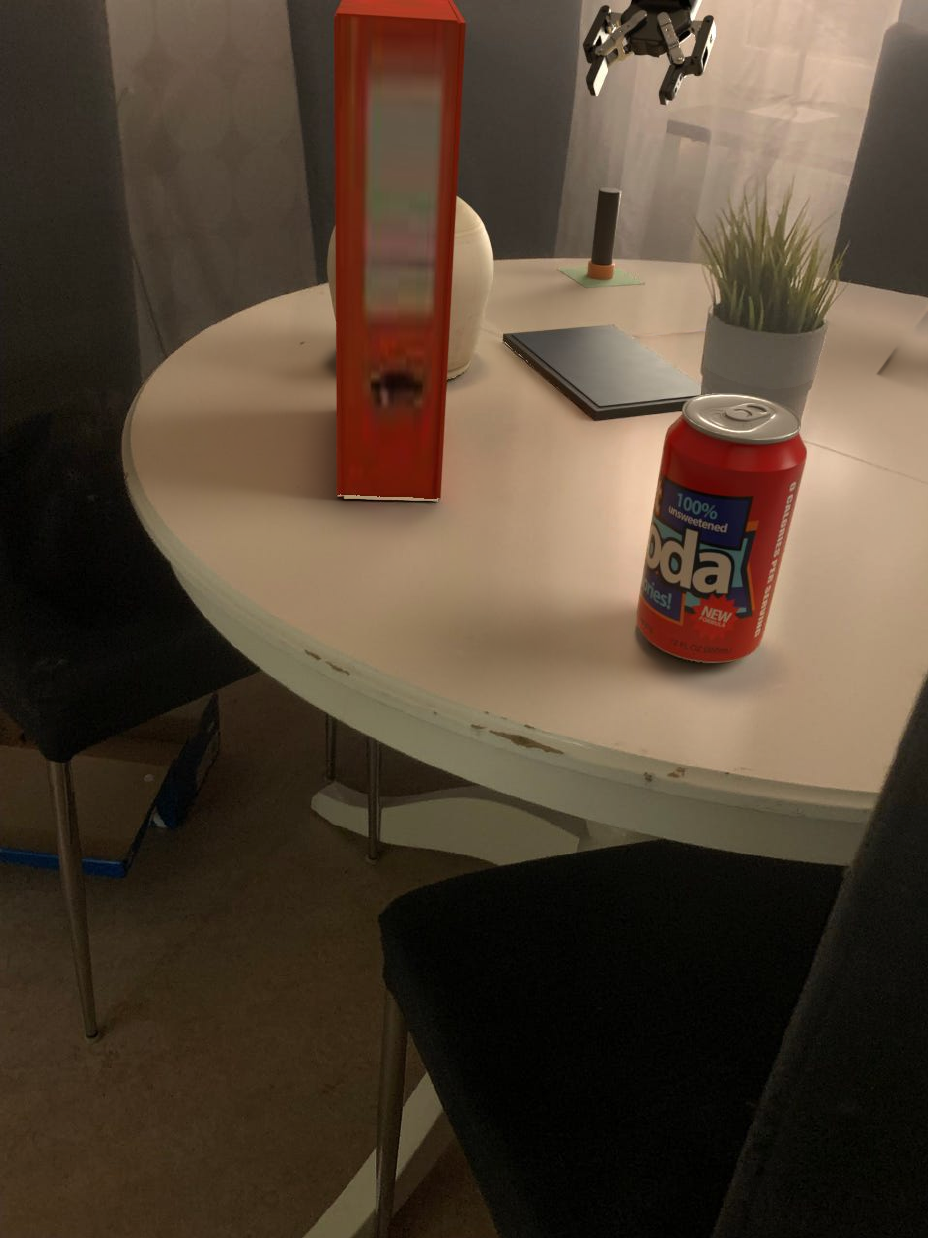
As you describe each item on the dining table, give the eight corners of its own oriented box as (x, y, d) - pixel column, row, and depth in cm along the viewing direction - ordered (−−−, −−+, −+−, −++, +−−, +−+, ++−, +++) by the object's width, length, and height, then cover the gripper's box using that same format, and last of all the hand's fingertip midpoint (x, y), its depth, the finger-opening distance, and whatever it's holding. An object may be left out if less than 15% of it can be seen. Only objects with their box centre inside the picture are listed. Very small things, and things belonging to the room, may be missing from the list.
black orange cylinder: (605, 271, 133) (615, 186, 128) (617, 278, 131) (628, 192, 125) (582, 272, 132) (591, 187, 127) (594, 280, 130) (604, 193, 124)
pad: (613, 269, 136) (614, 264, 136) (644, 288, 130) (645, 283, 130) (556, 273, 134) (557, 268, 133) (585, 292, 128) (586, 287, 127)
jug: (435, 406, 97) (446, 100, 83) (296, 368, 103) (285, 77, 89) (514, 358, 108) (535, 81, 94) (385, 326, 114) (387, 62, 100)
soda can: (786, 649, 67) (844, 424, 59) (697, 689, 63) (746, 454, 55) (695, 591, 72) (737, 377, 64) (608, 625, 68) (640, 402, 60)
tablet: (613, 332, 116) (614, 323, 116) (719, 405, 100) (721, 395, 100) (502, 341, 112) (502, 332, 111) (594, 420, 96) (596, 410, 95)
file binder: (436, 411, 96) (452, -3, 78) (444, 502, 81) (466, 19, 64) (345, 409, 95) (340, -9, 77) (337, 500, 81) (328, 12, 63)
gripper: (613, -56, 123) (562, 64, 121) (734, -48, 118) (683, 78, 116) (623, -5, 130) (576, 110, 128) (738, 6, 125) (690, 126, 123)
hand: (627, 95), depth 122 cm, fingers open, 8 cm apart
